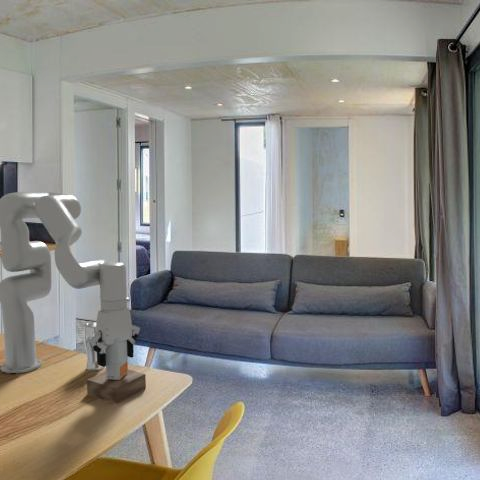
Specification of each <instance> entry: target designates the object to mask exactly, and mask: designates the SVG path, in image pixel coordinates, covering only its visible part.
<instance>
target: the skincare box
mask: <svg viewBox="0 0 480 480" xmlns="http://www.w3.org/2000/svg"><path fill="white" fill-rule="evenodd" d="M104 353H105V354H106V366H105V372H106V379H113V380H119V379H121V378H122V377H123V376H124V375H126V374H127V373H128V370H129V365H128V364H129V363H128V356H127V340H126V341H121V339H116V340H115V342H114V344H112V345H109V346H107V347H106V349H105V351H104Z"/></svg>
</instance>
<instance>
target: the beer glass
mask: <svg viewBox="0 0 480 480" xmlns="http://www.w3.org/2000/svg"><path fill="white" fill-rule="evenodd" d="M96 322H97V321H92V322H87V323H85V324H84V325H83V342H84V348H85V352H86V358H87V359H86V370H88V371H92V372H93V371H101V370H103V369H105V367H102V366H100V365H98V363H97V352H95V351H94V350H93V349H92V348H91V346H90V344H89V343H88V340H89V339H90V338H92V337H93V336H94V335H95V334H96ZM96 345H98V343H97V342H96ZM102 346H103V345H102Z"/></svg>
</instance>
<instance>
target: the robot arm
mask: <svg viewBox="0 0 480 480" xmlns="http://www.w3.org/2000/svg"><path fill="white" fill-rule="evenodd" d="M81 211H82V206H81V204H80V201H79V199H77V198H76V197H75V195H72V194H66V193H57V192H50V191H22V192H21V191H20V192H19V191H18V192H10V193H6V194H4V195H3V196H2V197H1V198H0V246H1V247H0V249H1V252H0V253H1V264H2V267H3V268H4V270H6V271H7V272H10V273H11V272H12V273H18V272H24V271H28V270H30V271H29V273H28V272H26V273H21V274H14V275H10V276H8V277H5V278H4V279H2V280H1V281H0V307H1V313H2V324H3V339H4V340H3V342H4V358H5V360H4V361H5V362H4V363H3V364H1V366H0V371H1V372H2V373H4V372H5V374H10V373H16V374H23V373H28V372H32V371H35V370H37V369H39V367H41V365H42V360H41V359H39V358H37V347H36V329H35V327H36V326H35V317H34V312H33V310H32V309H31V308H30V306H29V305H28V303H29V302H32V301H36V300H39V299H43V298H45V297H47V296H48V295H50V292H51V291H52V290H51V289H52V254H51V251H50V248H49V247H48V246H47V245H48V244H46V243H44V242H43V241H39V240H33V241H32V240H31V241H30V230H29V229H30V228H29V227H28V225H27V223H26V222H25V221H24V220H23V219H35V218H36V219H39V220H40V222H41V223H42V225H43V226H44V228H45V229H46V232H48V234H49V235H50V236H51V238H52V239H53V241H54V242H55V248H54V262H55V266H56V269H57V270H58V271H59V273H60V275H61V277H62V278H63V279H64V281H65V282H66V283H67V284H68V285H69V286H70V287H72V288H73V289H76V290H80V289H81V290H82V289H86V288H90V287H93V286H94V287H95V286H99V295H100V296H99V297H100V309H99V310H98V312H97V314H96V315H97V316H96V321H95V322H96V334H95V335H94V336H93V337H92V338H90V339H89V340H88V343H89V344H90V346H91V348H92V349H93V350H94V351H95V352H97V363H98V365H100V366H102V367H104V368H106V353H105V349H106V347H107V346H109V345H112V344H114V342H115V340H116V339H121V341H126V340H127V358H131V359H133V358H134V345H136V340H137V339H138V338H139V337H138V336H139V333H140V330H141V327H140V326H136V325H134V324H132V322H133V321H132V316H131V315H132V314H131V312H130V311H131V309H130V307H129V306H128V303H129V302H130V301H131V299H130V297H128V286H127V267H126V264H124V263H123V262H121V261H120V262H119V261H109V260H106V259H92V260H87V261H81V262H78V260H77V259H76V257H75V256H74V254H73V253H72V251H71V246H72V245H74V244H75V243H76V242H77V241H78V240H79V239H80V237H82V233H83V232H82V228H81V226H80V225H79V224H78V223H77V221H76V219H78V218H79V216H80V215H81ZM96 342H97V343H98V345H96ZM102 345H103V346H102Z"/></svg>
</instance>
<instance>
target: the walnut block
mask: <svg viewBox="0 0 480 480" xmlns="http://www.w3.org/2000/svg"><path fill="white" fill-rule="evenodd" d="M146 377H147V376H146V373H143V372H140V371H135V370H131V369H128V373H127V374H126V375H124V376H123V377H122V378H121V379H119V380H113V379H106V371H104V372H102V373H99V374H97V375H94V376H92V377H90V378H87V379H86V394H87V396H91V397H95V398H97V399H101V400H104V401H106V402H110V403H113V404H119V403H120V402H123V401H124V400H126V399H128V398H130V397H133V396H134V395H136V394H138V393H140V392H142V391H144V390H146V389H147V387H146V386H147V382H146V381H147V380H146ZM145 388H146V389H145ZM143 389H144V390H143ZM141 390H142V391H141Z"/></svg>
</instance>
